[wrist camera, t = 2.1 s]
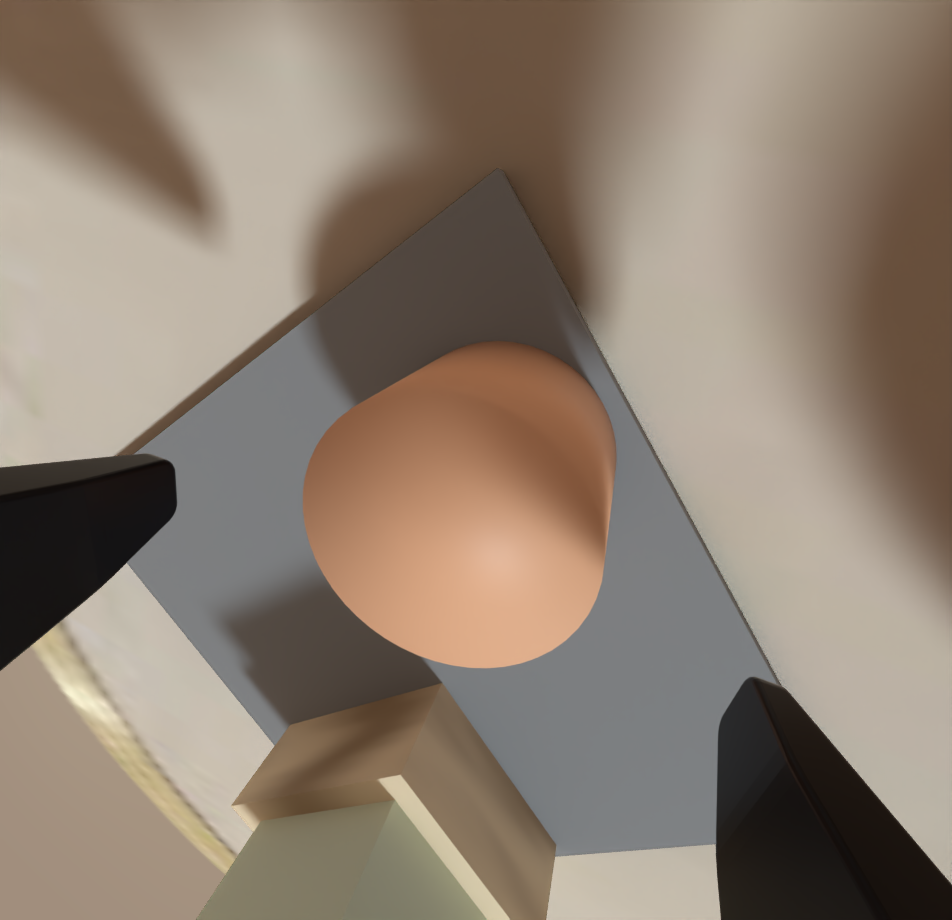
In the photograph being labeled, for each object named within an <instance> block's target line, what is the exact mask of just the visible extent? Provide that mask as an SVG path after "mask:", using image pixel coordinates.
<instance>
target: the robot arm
mask: <svg viewBox="0 0 952 920" xmlns="http://www.w3.org/2000/svg"><path fill="white" fill-rule="evenodd" d="M176 509H177V488H176V472H175V468H174V466H173V464H172V463H171V462H170V461H168V460H166V459H163V458H161V457H158V456H155V455H152V454H147V453H143V454H133V455H123V456H113V457H102V458H92V459H82V460H72V461H62V462H52V463H42V464H32V465H22V466H11V467H1V468H0V671H1V670H2V669H3V668H5V667H6V666H7V665H8V664H9V663H10V662H12V661H13V660H14V659H16V658H17V657H18V656H19V655H20V654H21V653H23V652H24V651H25V650H26V649H28V648H29V647H30V646H31V645H32V644H34V643H35V642H36V641H37V640H39V639H40V638H41V637H42V636H43V635H45V634H46V633H47V632H48V631H49V630H51V629H52V628H53V627H54V626H56V625H57V624H58V623H59V622H60V621H62V620H63V619H64V618H65V617H66V616H68V615H69V614H70V613H71V612H72V611H74V610H75V609H76V608H77V607H79V606H80V605H81V604H82V603H83V602H85V601H86V600H87V599H88V598H89V597H90V596H92V595H93V594H94V593H95V592H96V591H97V590H99V589H100V588H101V587H102V586H103V585H104V584H105V583H106V582H107V581H108V580H109V579H110V578H112V577H113V576H114V575H115V574H116V573H117V572H118V571H119V570H120V569H121V568H122V567H123V566H124V565H125V564H126V563H127V562H128V561H129V560H130V559H131V558H132V557H133V556H134V555H135V554H136V553H137V552H138V551H139V550H140V549H141V548H142V547H143V546H144V545H145V544H146V543H147V542H148V541H149V540H150V539H151V538H152V537H153V536H154V535H155V534H156V533H157V532H158V531H159V530H160V529H162V528H163V527H164V526H165V525H166V524H167V523H168V522H169V521H170V520H171V518H172V517H173V515H174V514H175V512H176ZM716 862H717V878H718V890H719V901H720V913H721V920H952V884H951V883H950V882H949V881H948V880H947V878H946V877H945V876H944V875H943V874H942V873H941V871H940V870H939V869H938V868H937V867H936V865H935V864H934V863H933V862H932V861H931V860H930V858H929V857H928V856H927V855H926V854H925V852H924V851H923V850H922V849H921V848H920V847H919V845H918V844H917V843H916V842H915V841H914V839H913V838H912V837H911V836H910V835H909V834H908V832H907V831H906V830H905V829H904V828H903V826H902V825H901V824H900V823H899V822H898V821H897V819H896V818H895V817H894V816H893V815H892V813H891V812H890V811H889V810H888V809H887V808H886V806H885V805H884V804H883V803H882V802H881V800H880V799H879V798H878V797H877V796H876V795H875V793H874V792H873V791H872V790H871V789H870V788H869V786H868V785H867V784H866V783H865V782H864V780H863V779H862V778H861V777H860V776H859V775H858V773H857V772H856V771H855V770H854V769H853V767H852V766H851V765H850V764H849V763H848V762H847V760H846V759H845V758H844V757H843V756H842V754H841V753H840V752H839V751H838V750H837V749H836V747H835V746H834V745H833V744H832V743H831V741H830V740H829V739H828V738H827V737H826V736H825V734H824V733H823V732H822V731H821V730H820V728H819V727H818V726H817V725H816V724H815V723H814V721H813V720H812V719H811V718H810V717H809V715H808V714H807V713H806V712H805V711H804V710H803V708H802V707H801V706H800V705H799V704H798V702H797V701H796V700H795V699H794V698H793V697H792V695H791V694H790V693H789V692H788V691H787V690H786V689H785V688H784V687H782V686H780V685H777V684H774V683H772V682H769V681H766V680H764V679H761V678H758V677H749V678H747V679H746V680H745V681H744V682H743V684H742V685H741V687H740V688H739V690H738V692H737V693H736V695H735V696H734V698H733V700H732V701H731V703H730V704H729V706H728V708H727V709H726V711H725V712H724V714H723V716H722V718H721V721H720V724H719V729H718V756H717V805H716Z"/></svg>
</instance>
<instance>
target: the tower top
mask: <svg viewBox="0 0 952 920" xmlns="http://www.w3.org/2000/svg"><path fill="white" fill-rule="evenodd" d="M196 920H487V919H486V917H485V916H484V915H483V913H482V912H481V911H480V910H479V908H478V907H477V906H476V904H475V903H474V902H473V901H472V899H471V898H470V897H469V895H468V894H467V893H466V891H465V890H464V889H463V888H462V886H461V885H460V884H459V882H458V881H457V880H456V878H455V877H454V876H453V875H452V873H451V872H450V871H449V869H448V868H447V867H446V865H445V864H444V863H443V862H442V860H441V859H440V858H439V856H438V855H437V854H436V853H435V851H434V850H433V849H432V847H431V846H430V845H429V843H428V842H427V841H426V840H425V838H424V837H423V836H422V834H421V833H420V832H419V830H418V829H417V828H416V827H415V825H414V824H413V823H412V821H411V820H410V819H409V817H408V816H407V815H406V814H405V812H404V811H403V810H402V808H401V807H400V806H399V805H398V803H397V802H396V801H395V800H391V801H384V802H378V803H371V804H365V805H359V806H352V807H346V808H340V809H333V810H327V811H321V812H314V813H308V814H302V815H295V816H289V817H282V818H276V819H270V820H263V821H261V822H260V823H259V825H258V826H257V828H256V829H255V831H254V832H253V834H252V835H251V837H250V838H249V840H248V841H247V843H246V844H245V846H244V847H243V849H242V850H241V852H240V853H239V855H238V856H237V858H236V859H235V861H234V863H233V864H232V866H231V867H230V869H229V870H228V872H227V873H226V875H225V876H224V878H223V879H222V881H221V882H220V884H219V885H218V887H217V888H216V890H215V892H214V893H213V895H212V896H211V897H210V899H209V901H208V902H207V904H206V905H205V907H204V908H203V910H202V911H201V913H200V914H199V916H198V917H197V919H196Z"/></svg>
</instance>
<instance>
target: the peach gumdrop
mask: <svg viewBox="0 0 952 920" xmlns="http://www.w3.org/2000/svg"><path fill="white" fill-rule="evenodd" d="M616 463H617V453H616V441H615V435H614V430H613V427H612V424H611V421H610V418H609V415H608V413H607V411H606V409H605V407H604V405H603V403H602V401H601V400H600V398H599V397H598V395H597V393H596V392H595V390H594V389H593V388H592V387H591V386H590V385H589V383H588V382H587V381H586V380H585V379H584V378H583V377H582V376H581V375H580V374H579V373H578V372H577V371H576V370H574V369H573V368H572V367H571V366H569V365H568V364H566V363H565V362H564V361H562V360H561V359H559V358H557V357H556V356H554V355H552V354H550V353H548V352H546V351H544V350H541V349H538V348H535V347H532V346H529V345H525V344H520V343H515V342H506V341H489V342H480V343H475V344H470V345H466V346H464V347H461V348H458V349H455V350H453V351H451V352H449V353H447V354H445V355H444V356H442V357H440V358H438V359H436V360H435V361H433V362H431V363H429V364H428V365H426V366H424V367H423V368H421V369H419V370H417V371H416V372H414V373H412V374H410V375H409V376H407V377H405V378H403V379H402V380H400V381H398V382H396V383H395V384H393V385H391V386H389V387H388V388H386V389H384V390H382V391H381V392H379V393H377V394H375V395H374V396H372V397H370V398H368V399H367V400H365V401H363V402H361V403H360V404H358V405H356V406H354V407H353V408H351V409H350V410H349V411H347V412H346V413H345V414H343V415H342V416H341V417H339V418H338V419H337V420H336V421H335V422H334V423H333V424H332V426H331V427H330V428H329V429H328V430H327V431H326V432H325V434H324V435H323V437H322V438H321V440H320V441H319V442H318V444H317V446H316V448H315V450H314V452H313V454H312V456H311V458H310V461H309V464H308V468H307V471H306V474H305V480H304V487H303V515H304V523H305V528H306V532H307V536H308V540H309V543H310V546H311V549H312V551H313V554H314V557H315V559H316V561H317V563H318V565H319V567H320V569H321V571H322V573H323V575H324V576H325V578H326V579H327V581H328V582H329V584H330V585H331V587H332V588H333V590H334V591H335V592H336V594H337V595H338V596H339V597H340V599H341V600H342V601H343V602H344V604H345V605H346V606H347V607H348V608H349V609H350V610H351V611H352V612H353V613H354V614H355V615H356V616H357V617H358V618H359V619H361V620H362V621H363V622H364V623H365V624H366V625H368V626H369V627H370V628H371V629H373V630H374V631H375V632H377V633H378V634H380V635H381V636H382V637H384V638H385V639H387V640H389V641H390V642H392V643H394V644H396V645H397V646H399V647H401V648H403V649H405V650H407V651H409V652H412V653H414V654H416V655H418V656H421V657H424V658H427V659H430V660H433V661H436V662H440V663H444V664H448V665H453V666H460V667H467V668H497V667H506V666H511V665H516V664H521V663H524V662H527V661H529V660H532V659H535V658H538V657H540V656H542V655H544V654H546V653H548V652H550V651H552V650H553V649H555V648H556V647H557V646H559V645H560V644H562V643H563V642H564V641H566V640H567V639H568V638H569V637H570V636H571V635H572V634H573V633H574V632H575V631H576V630H577V629H578V628H579V627H580V625H581V624H582V623H583V621H584V620H585V619H586V617H587V616H588V615H589V613H590V611H591V609H592V607H593V605H594V603H595V601H596V599H597V596H598V592H599V589H600V586H601V583H602V577H603V570H604V563H605V555H606V546H607V538H608V530H609V521H610V513H611V504H612V496H613V488H614V479H615V471H616Z"/></svg>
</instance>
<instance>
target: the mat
mask: <svg viewBox="0 0 952 920" xmlns="http://www.w3.org/2000/svg"><path fill="white" fill-rule="evenodd" d="M489 341H506V342H515V343H520V344H525V345H529V346H532V347H535V348H538V349H541V350H544V351H546V352H548V353H550V354H552V355H554V356H556V357H557V358H559V359H561V360H562V361H564V362H565V363H566V364H568V365H569V366H571V367H572V368H573V369H574V370H576V371H577V372H578V373H579V374H580V375H581V376H582V377H583V378H584V379H585V380H586V381H587V382H588V383H589V385H590V386H591V387H592V388H593V389H594V390H595V392H596V393H597V395H598V397H599V398H600V400H601V401H602V403H603V405H604V407H605V409H606V411H607V413H608V415H609V418H610V421H611V424H612V427H613V430H614V435H615V441H616V453H617V463H616V471H615V479H614V488H613V496H612V504H611V513H610V521H609V530H608V538H607V546H606V555H605V563H604V570H603V577H602V583H601V586H600V589H599V592H598V596H597V599H596V601H595V603H594V605H593V607H592V609H591V611H590V613H589V615H588V616H587V617H586V619H585V620H584V621H583V623H582V624H581V625H580V627H579V628H578V629H577V630H576V631H575V632H574V633H573V634H572V635H571V636H570V637H569V638H568V639H567V640H566V641H564V642H563V643H562V644H560V645H559V646H557V647H556V648H555V649H553V650H552V651H550V652H548V653H546V654H544V655H542V656H540V657H538V658H535V659H532V660H529V661H527V662H524V663H521V664H516V665H511V666H506V667H497V668H467V667H460V666H453V665H448V664H444V663H440V662H436V661H433V660H430V659H427V658H424V657H421V656H418V655H416V654H414V653H412V652H409V651H407V650H405V649H403V648H401V647H399V646H397V645H396V644H394V643H392V642H390V641H389V640H387V639H385V638H384V637H382V636H381V635H380V634H378V633H377V632H375V631H374V630H373V629H371V628H370V627H369V626H368V625H366V624H365V623H364V622H363V621H362V620H361V619H359V618H358V617H357V616H356V615H355V614H354V613H353V612H352V611H351V610H350V609H349V608H348V607H347V606H346V605H345V604H344V602H343V601H342V600H341V599H340V597H339V596H338V595H337V594H336V592H335V591H334V590H333V588H332V587H331V585H330V584H329V582H328V581H327V579H326V578H325V576H324V575H323V573H322V571H321V569H320V567H319V565H318V563H317V561H316V559H315V557H314V554H313V551H312V549H311V546H310V543H309V540H308V536H307V532H306V528H305V523H304V515H303V487H304V480H305V474H306V471H307V468H308V464H309V461H310V458H311V456H312V454H313V452H314V450H315V448H316V446H317V444H318V442H319V441H320V440H321V438H322V437H323V435H324V434H325V432H326V431H327V430H328V429H329V428H330V427H331V426H332V424H333V423H334V422H335V421H336V420H337V419H338V418H339V417H341V416H342V415H343V414H345V413H346V412H347V411H349V410H350V409H351V408H353V407H354V406H356V405H358V404H360V403H361V402H363V401H365V400H367V399H368V398H370V397H372V396H374V395H375V394H377V393H379V392H381V391H382V390H384V389H386V388H388V387H389V386H391V385H393V384H395V383H396V382H398V381H400V380H402V379H403V378H405V377H407V376H409V375H410V374H412V373H414V372H416V371H417V370H419V369H421V368H423V367H424V366H426V365H428V364H429V363H431V362H433V361H435V360H436V359H438V358H440V357H442V356H444V355H445V354H447V353H449V352H451V351H453V350H455V349H458V348H461V347H464V346H466V345H470V344H475V343H480V342H489ZM143 453H147V454H152V455H155V456H158V457H161V458H163V459H166V460H168V461H170V462H171V463H172V464H173V466H174V468H175V472H176V488H177V509H176V512H175V514H174V515H173V517H172V518H171V520H170V521H169V522H168V523H167V524H166V525H165V526H164V527H163V528H162V529H160V530H159V531H158V532H157V533H156V534H155V535H154V536H153V537H152V538H151V539H150V540H149V541H148V542H147V543H146V544H145V545H144V546H143V547H142V548H141V549H140V550H139V551H138V552H137V553H136V554H135V555H134V556H133V557H132V558H131V559H130V560H129V561H128V562H127V564H128V565H129V566H130V568H131V569H132V570H133V571H134V572H135V574H136V575H137V576H138V577H139V579H140V580H141V581H142V582H143V584H144V585H145V586H146V587H147V588H148V590H149V591H150V592H151V593H152V595H153V596H154V597H155V598H156V600H157V601H158V602H159V603H160V605H161V606H162V607H163V608H164V609H165V611H166V612H167V613H168V614H169V616H170V617H171V618H172V619H173V621H174V622H175V623H176V624H177V626H178V627H179V628H180V629H181V630H182V632H183V633H184V634H185V635H186V637H187V638H188V639H189V640H190V642H191V643H192V644H193V645H194V647H195V648H196V649H197V650H198V651H199V653H200V654H201V655H202V656H203V658H204V659H205V660H206V661H207V663H208V664H209V665H210V666H211V667H212V669H213V670H214V671H215V672H216V674H217V675H218V676H219V677H220V679H221V680H222V681H223V682H224V684H225V685H226V686H227V687H228V688H229V690H230V691H231V692H232V693H233V695H234V696H235V697H236V698H237V700H238V701H239V702H240V703H241V705H242V706H243V707H244V708H245V709H246V711H247V712H248V713H249V714H250V716H251V717H252V718H253V719H254V721H255V722H256V723H257V724H258V726H259V727H260V728H261V729H262V730H263V732H264V733H265V734H266V735H267V737H268V738H269V739H270V740H271V742H272V743H273V744H274V745H276V744H277V742H278V741H279V740H280V738H281V737H282V735H283V734H284V733H285V731H286V730H287V729H288V727H289V726H290V725H292V724H295V723H299V722H302V721H306V720H310V719H313V718H317V717H321V716H324V715H328V714H331V713H335V712H339V711H342V710H346V709H350V708H353V707H357V706H360V705H364V704H368V703H371V702H375V701H379V700H382V699H386V698H389V697H393V696H397V695H400V694H404V693H408V692H411V691H415V690H418V689H422V688H426V687H429V686H433V685H437V684H440V683H443V685H444V686H445V687H446V689H447V690H448V692H449V693H450V695H451V696H452V697H453V699H454V700H455V702H456V703H457V705H458V706H459V707H460V709H461V710H462V712H463V713H464V714H465V716H466V717H467V719H468V720H469V722H470V723H471V724H472V726H473V727H474V729H475V730H476V732H477V733H478V734H479V736H480V737H481V739H482V740H483V741H484V743H485V744H486V746H487V747H488V749H489V750H490V751H491V753H492V754H493V756H494V757H495V759H496V760H497V761H498V763H499V764H500V766H501V767H502V768H503V770H504V771H505V773H506V774H507V776H508V777H509V778H510V780H511V781H512V783H513V784H514V786H515V787H516V788H517V790H518V791H519V793H520V794H521V795H522V797H523V798H524V800H525V801H526V803H527V804H528V805H529V807H530V808H531V810H532V811H533V813H534V814H535V815H536V817H537V818H538V820H539V821H540V822H541V824H542V825H543V827H544V828H545V830H546V831H547V832H548V834H549V835H550V837H551V838H552V840H553V841H554V842H555V844H556V845H557V846H556V853H555V857H556V856H569V855H582V854H595V853H607V852H620V851H633V850H646V849H659V848H671V847H684V846H697V845H710V844H716V805H717V756H718V729H719V724H720V721H721V718H722V716H723V714H724V712H725V711H726V709H727V708H728V706H729V704H730V703H731V701H732V700H733V698H734V696H735V695H736V693H737V692H738V690H739V688H740V687H741V685H742V684H743V682H744V681H745V680H746V679H747V678H749V677H758V678H761V679H764V680H766V681H769V682H772V683H774V684H777V685H780V683H779V681H778V679H777V677H776V676H775V674H774V672H773V670H772V668H771V666H770V664H769V663H768V661H767V659H766V657H765V655H764V653H763V651H762V650H761V648H760V646H759V644H758V642H757V640H756V638H755V637H754V635H753V633H752V631H751V629H750V627H749V626H748V624H747V622H746V620H745V618H744V616H743V614H742V613H741V611H740V609H739V607H738V605H737V603H736V601H735V600H734V598H733V596H732V594H731V592H730V590H729V588H728V587H727V585H726V583H725V581H724V579H723V577H722V576H721V574H720V572H719V570H718V568H717V566H716V564H715V563H714V561H713V559H712V557H711V555H710V553H709V551H708V550H707V548H706V546H705V544H704V542H703V540H702V538H701V537H700V535H699V533H698V531H697V529H696V527H695V525H694V524H693V522H692V520H691V518H690V516H689V514H688V513H687V511H686V509H685V507H684V505H683V503H682V501H681V500H680V498H679V496H678V494H677V492H676V490H675V488H674V487H673V485H672V483H671V481H670V479H669V477H668V475H667V474H666V472H665V470H664V468H663V466H662V464H661V463H660V461H659V459H658V457H657V455H656V453H655V451H654V450H653V448H652V446H651V444H650V442H649V440H648V438H647V437H646V435H645V433H644V431H643V429H642V427H641V425H640V424H639V422H638V420H637V418H636V416H635V414H634V412H633V411H632V409H631V407H630V405H629V403H628V401H627V400H626V398H625V396H624V394H623V392H622V390H621V388H620V387H619V385H618V383H617V381H616V379H615V377H614V375H613V374H612V372H611V370H610V368H609V366H608V364H607V362H606V361H605V359H604V357H603V355H602V353H601V351H600V349H599V348H598V346H597V344H596V342H595V340H594V338H593V337H592V335H591V333H590V331H589V329H588V327H587V325H586V324H585V322H584V320H583V318H582V316H581V314H580V312H579V311H578V309H577V307H576V305H575V303H574V301H573V299H572V298H571V296H570V294H569V292H568V290H567V288H566V287H565V285H564V283H563V281H562V279H561V277H560V275H559V274H558V272H557V270H556V268H555V266H554V264H553V262H552V261H551V259H550V257H549V255H548V253H547V251H546V249H545V248H544V246H543V244H542V242H541V240H540V238H539V236H538V235H537V233H536V231H535V229H534V227H533V225H532V224H531V222H530V220H529V218H528V216H527V214H526V212H525V211H524V209H523V207H522V205H521V203H520V201H519V199H518V198H517V196H516V194H515V192H514V190H513V188H512V186H511V185H510V183H509V181H508V179H507V177H506V175H505V174H504V172H503V170H501V169H499V168H497V169H496V170H495V171H493V172H492V173H491V174H489V175H488V176H487V177H486V178H484V179H483V180H482V181H481V182H479V183H478V184H477V185H475V186H474V187H473V188H472V189H470V190H469V191H468V192H467V193H465V194H464V195H463V196H461V197H460V198H459V199H458V200H456V201H455V202H454V203H453V204H451V205H450V206H449V207H447V208H446V209H445V210H444V211H442V212H441V213H440V214H439V215H437V216H436V217H435V218H434V219H432V220H431V221H430V222H428V223H427V224H426V225H425V226H423V227H422V228H421V229H420V230H418V231H417V232H416V233H414V234H413V235H412V236H411V237H409V238H408V239H407V240H406V241H404V242H403V243H402V244H400V245H399V246H398V247H397V248H395V249H394V250H393V251H392V252H390V253H389V254H388V255H386V256H385V257H384V258H383V259H381V260H380V261H379V262H378V263H376V264H375V265H374V266H372V267H371V268H370V269H369V270H367V271H366V272H365V273H364V274H362V275H361V276H360V277H358V278H357V279H356V280H355V281H353V282H352V283H351V284H350V285H348V286H347V287H346V288H344V289H343V290H342V291H341V292H339V293H338V294H337V295H336V296H334V297H333V298H332V299H330V300H329V301H328V302H327V303H325V304H324V305H323V306H322V307H320V308H319V309H318V310H316V311H315V312H314V313H313V314H311V315H310V316H309V317H308V318H306V319H305V320H304V321H302V322H301V323H300V324H299V325H297V326H296V327H295V328H294V329H292V330H291V331H290V332H289V333H287V334H286V335H285V336H283V337H282V338H281V339H280V340H278V341H277V342H276V343H275V344H273V345H272V346H271V347H269V348H268V349H267V350H266V351H264V352H263V353H262V354H261V355H259V356H258V357H257V358H255V359H254V360H253V361H252V362H250V363H249V364H248V365H247V366H245V367H244V368H243V369H241V370H240V371H239V372H238V373H236V374H235V375H234V376H233V377H231V378H230V379H229V380H227V381H226V382H225V383H224V384H222V385H221V386H220V387H219V388H217V389H216V390H215V391H213V392H212V393H211V394H210V395H208V396H207V397H206V398H205V399H203V400H202V401H201V402H199V403H198V404H197V405H196V406H194V407H193V408H192V409H191V410H189V411H188V412H187V413H185V414H184V415H183V416H182V417H180V418H179V419H178V420H177V421H175V422H174V423H173V424H171V425H170V426H169V427H168V428H166V429H165V430H164V431H163V432H161V433H160V434H159V435H157V436H156V437H155V438H154V439H152V440H151V441H150V442H149V443H147V444H146V445H145V446H144V447H142V448H141V449H140V450H138V451H137V452H136V453H135V454H143ZM780 686H781V685H780Z"/></svg>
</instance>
